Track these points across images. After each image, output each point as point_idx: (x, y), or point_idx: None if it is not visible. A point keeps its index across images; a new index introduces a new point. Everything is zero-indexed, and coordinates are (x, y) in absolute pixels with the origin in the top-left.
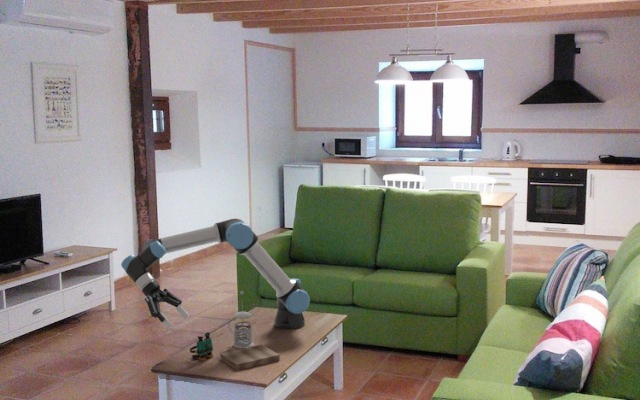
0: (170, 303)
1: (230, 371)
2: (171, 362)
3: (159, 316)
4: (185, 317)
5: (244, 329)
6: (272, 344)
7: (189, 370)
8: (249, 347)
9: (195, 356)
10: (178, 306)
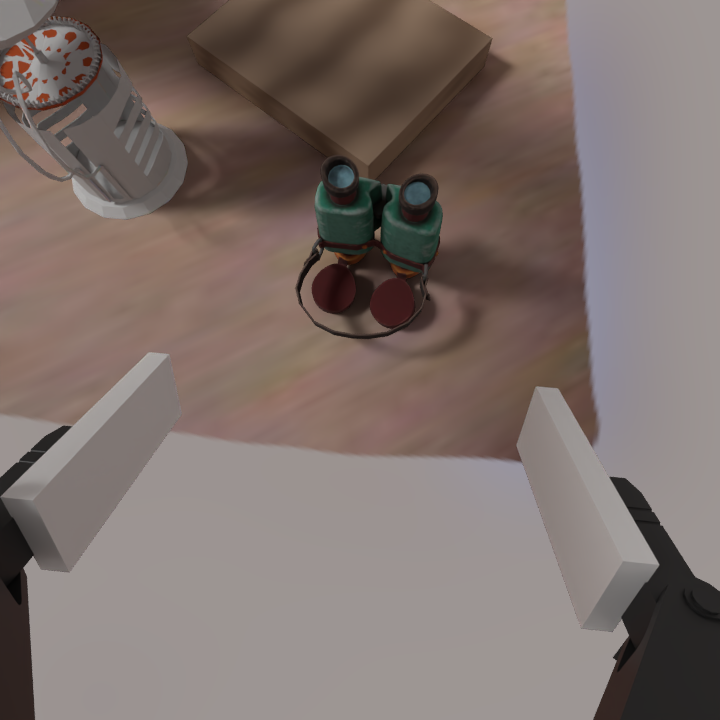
0: (27, 713)
1: (505, 86)
2: (494, 413)
3: (677, 564)
4: (170, 402)
5: (28, 122)
6: (111, 48)
7: (565, 261)
8: (243, 70)
9: (412, 295)
10: (52, 516)
